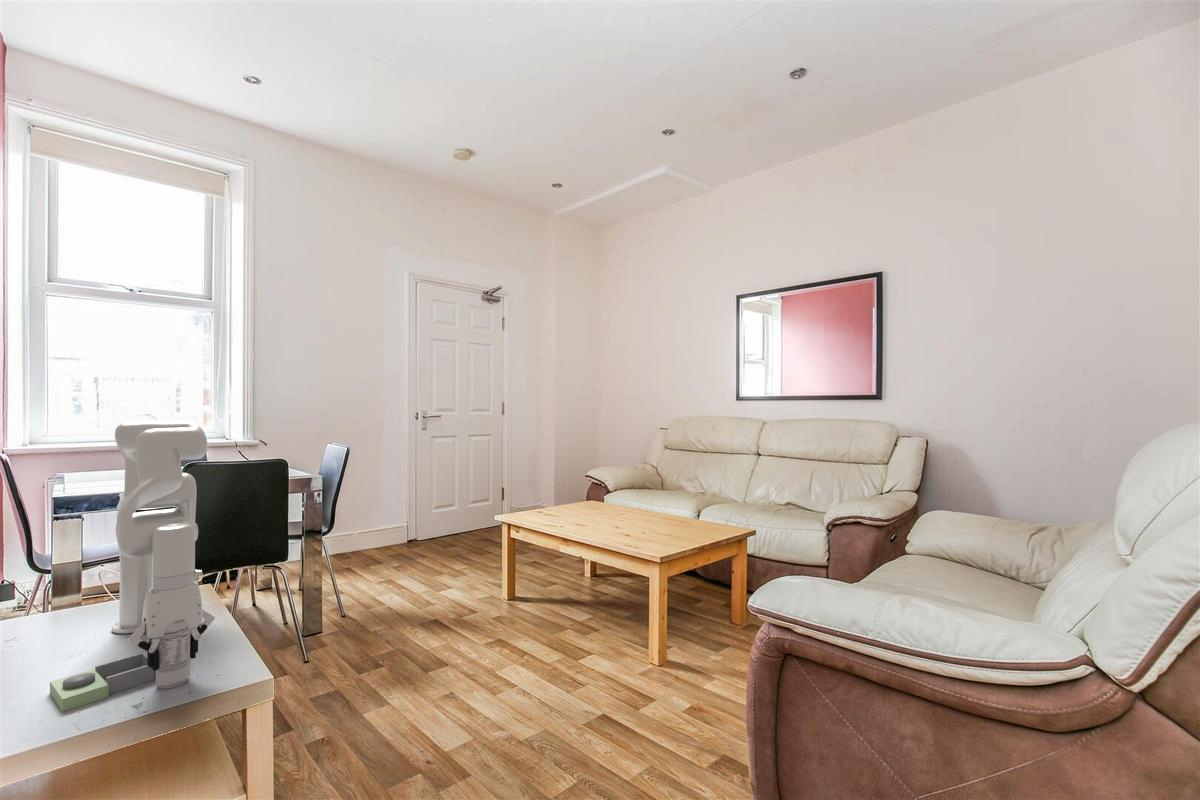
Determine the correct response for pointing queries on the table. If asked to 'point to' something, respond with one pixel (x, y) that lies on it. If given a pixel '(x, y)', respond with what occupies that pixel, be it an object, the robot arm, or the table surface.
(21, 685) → the table surface
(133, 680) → the grey open box
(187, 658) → the energy drink can
